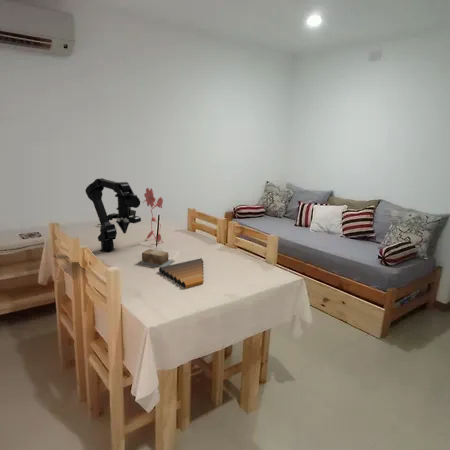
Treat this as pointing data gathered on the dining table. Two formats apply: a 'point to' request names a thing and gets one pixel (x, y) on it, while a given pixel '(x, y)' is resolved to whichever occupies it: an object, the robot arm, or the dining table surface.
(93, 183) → the robot arm
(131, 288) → the dining table surface
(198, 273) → the pan flute
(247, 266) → the dining table surface
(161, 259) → the walnut block
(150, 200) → the red flower sculpture
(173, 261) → the felt mat
